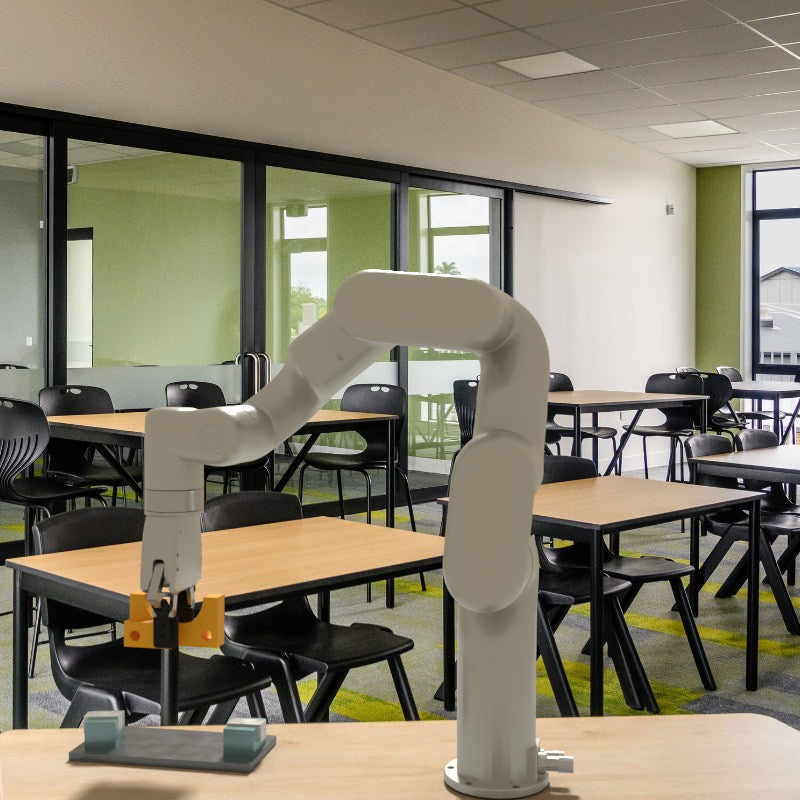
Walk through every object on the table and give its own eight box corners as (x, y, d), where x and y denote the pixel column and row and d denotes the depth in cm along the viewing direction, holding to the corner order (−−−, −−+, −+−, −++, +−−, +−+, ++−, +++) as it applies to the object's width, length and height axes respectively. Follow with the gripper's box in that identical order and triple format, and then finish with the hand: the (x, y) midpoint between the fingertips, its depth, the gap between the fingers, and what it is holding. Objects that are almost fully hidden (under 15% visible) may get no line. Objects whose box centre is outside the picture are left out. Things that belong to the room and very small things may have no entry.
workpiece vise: (276, 743, 143) (276, 709, 143) (249, 772, 132) (249, 736, 132) (106, 732, 147) (106, 699, 147) (67, 760, 137) (67, 724, 137)
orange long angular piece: (123, 646, 139) (124, 596, 138) (138, 638, 143) (138, 590, 143) (212, 651, 136) (212, 600, 136) (224, 643, 141) (224, 594, 141)
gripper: (172, 494, 148) (171, 626, 149) (118, 509, 132) (118, 657, 132) (224, 496, 147) (223, 629, 147) (176, 511, 130) (176, 661, 131)
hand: (173, 641), depth 140 cm, fingers closed on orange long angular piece, 4 cm apart
